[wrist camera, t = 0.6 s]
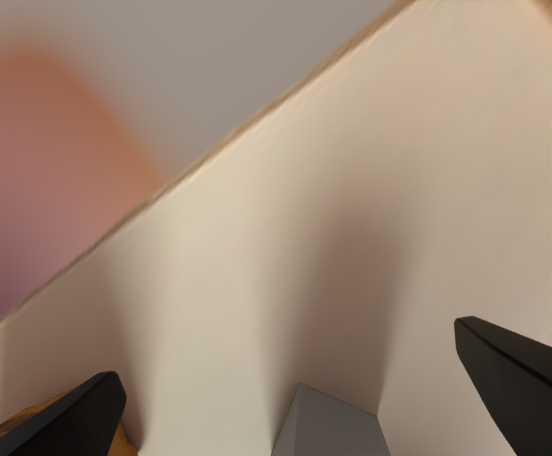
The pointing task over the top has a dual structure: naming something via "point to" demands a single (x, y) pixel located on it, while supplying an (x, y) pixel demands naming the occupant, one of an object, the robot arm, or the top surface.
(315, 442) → the grey rectangular pillar
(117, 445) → the coffee package
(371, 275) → the top surface
